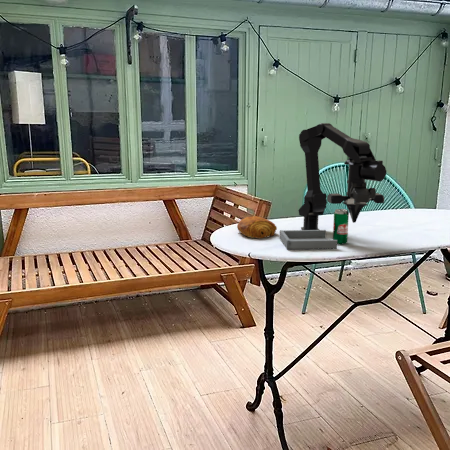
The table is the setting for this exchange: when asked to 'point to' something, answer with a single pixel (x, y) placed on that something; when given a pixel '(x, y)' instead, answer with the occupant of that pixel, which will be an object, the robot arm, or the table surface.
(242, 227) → the croissant
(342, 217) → the soda can
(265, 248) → the table surface
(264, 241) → the table surface
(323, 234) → the tray
